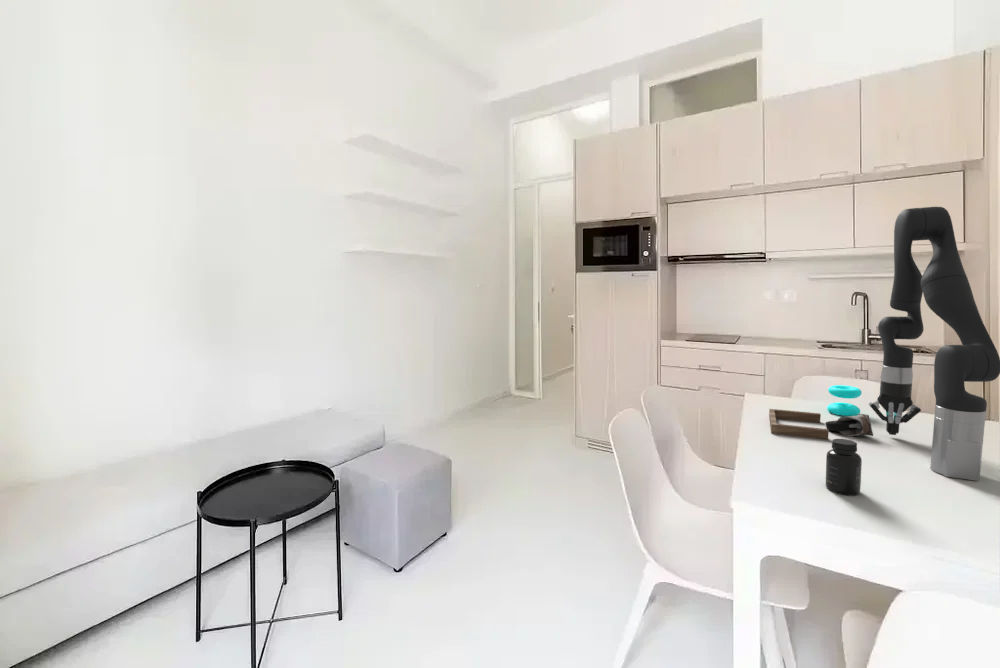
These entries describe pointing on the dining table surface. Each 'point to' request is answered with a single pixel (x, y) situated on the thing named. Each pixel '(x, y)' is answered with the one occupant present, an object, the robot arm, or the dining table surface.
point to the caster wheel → (851, 425)
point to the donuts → (844, 408)
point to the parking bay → (796, 430)
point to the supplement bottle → (843, 467)
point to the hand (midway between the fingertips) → (892, 434)
